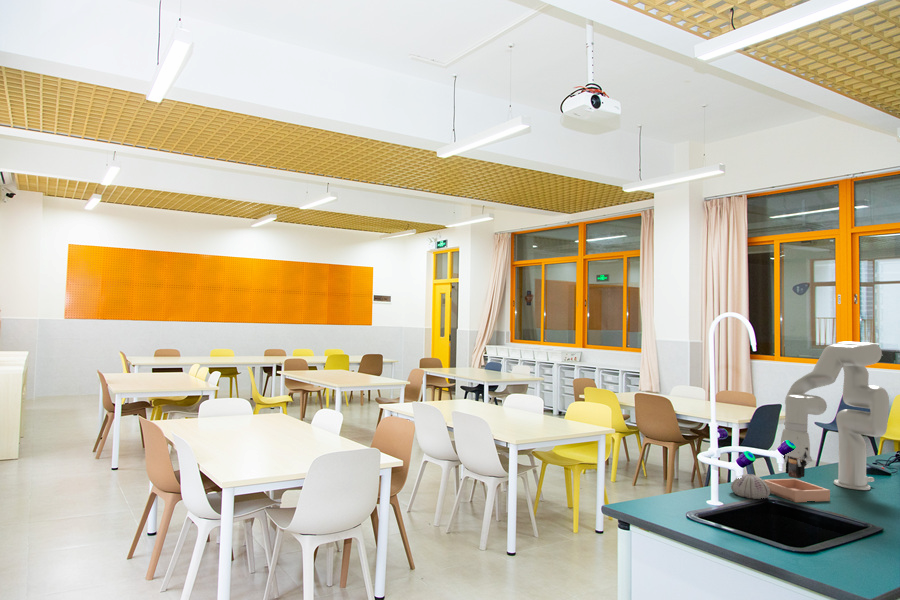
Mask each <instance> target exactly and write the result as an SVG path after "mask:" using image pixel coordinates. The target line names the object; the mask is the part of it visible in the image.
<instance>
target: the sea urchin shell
mask: <svg viewBox="0 0 900 600" xmlns="http://www.w3.org/2000/svg"><path fill="white" fill-rule="evenodd" d="M741 476H742V478H740V479H739V478H738V479H737V477H736V478H735V479H734V480H733V482H731V484H730V487H731V488H730V490H731V491H732V492H733V493H734V494H735V495H737V496H738V497H742V498H746V499H753V500H762V499H763V498H764V499H767V498H768V497H770V494H771V493H770V489H769V487H768V486H767V484H766V483H765V482H764V481H763V480H764V479H763V478H761V477H760V476H758V475H757V474H751V473H747V474H746V473H745V474H742V475H741ZM761 498H762V499H761Z"/></svg>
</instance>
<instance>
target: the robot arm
mask: <svg viewBox="0 0 900 600" xmlns="http://www.w3.org/2000/svg"><path fill="white" fill-rule="evenodd" d="M882 354H883V352H882V348H881V347H880V346H879V345H878V344H877V343H874V342H864V341H863V342H860V341H838V342H836V343H834V344H829V345H827V346H826V347H824V349H823V350H822V353H821V354H820V356H819V358H818V360H817V361H816V364H815V366H814V368H813V369H812V370H811V371H810V372H808V373H807V374H805V375H803V376H801V377H800V378H799V379H796V381H794V382H793V384H792V385H791V386H790V388H789V390H788V392H787V394H786V396H785V400H784V405H785V412H784V413H785V414H784V415H785V416H784V417H785V418H784V423H783V425H784V428H783V430H782V433H781V439H780V445H781V444H782V442H783V441H785V440H789V441H790V442H791V443H793V444H794V445H795V446H796V448H795V449H794V450H793V451H791V452H789V453H787V454H785V455H784V457H783V456H782V458H783V461H784V463H785V474H788V464H789V462H788V459H789V457H793V458H797V462H798V466H797V471H796V476H797V477H801V478H804V477H805V474H806V473H805V469H806V468H805V467H807V465H808V464H809V463H811V462H813V458H812V456H811V443H810V442H811V441H810V436H809V432H808V426H809V425H808V422H809V421H808V419H809V418H808V417H809V416H808V415H813V416H819V415H823V414H824V413H825V412H826V410H827V406H828V405H827V402H826V400H825V399H824V398H823V397H821V396H817V395H812V394H807V392H809V391H811V390H813V389H817V388H818V389H819V388H822V387H826V386H829V385H832V384H834V383H835V382H836V380H837V378H838V376H839V374H840V373H841V371H842V369H843V385H842V387H843V388H842V401H843V403H844V404H845V405H847V406H850V407H855V408H863V409H868V410H869V411H864V410H857V409H849V408H847V409H841V410H840V411H838V412H837V414H836V417H835V418H836V419H835V421H836V426H837V430H838V431H837V433H838V475H837V476H838V477H837V478H838V479H834V480H833V484H834V485H836V486H838V487H842V488H845V489H850V490H855V491H856V490H858V491H869V490H871V485H870V484H868V483H871V482H875V478H874V477H872V476H867V444H866V441H865V439H864V437H863V435H864V436H869V437H874V438H881V437H883V436H885V434H886V433H887V429H888V423H889V422H888V421H889V408H890V405H889V404H890V398H889V396H890V395H889V393H888V392H887V390H886V389H885V388H883V387H882V386H878V385H870V384H869V374H870V373H869V370H868V368H866V367H868V366H871V365H874V364H877V363H878V362H879V361H880V360H881V358H882ZM801 460H802V462H801Z"/></svg>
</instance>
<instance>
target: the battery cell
mask: <svg viewBox="0 0 900 600" xmlns="http://www.w3.org/2000/svg"><path fill="white" fill-rule="evenodd" d="M788 462H789V464H788V473H787V476H788V477H789V478H792V479H802V477H797V476H796V471H797V466H798V462H797V458H793V457H789V459H788ZM801 462H802V460H801Z"/></svg>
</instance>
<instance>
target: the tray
mask: <svg viewBox="0 0 900 600" xmlns="http://www.w3.org/2000/svg"><path fill="white" fill-rule="evenodd" d="M762 480H763V481H764V482H765V483H766V484H767V486H768V487H769V489H770V494H771V495H775V496H777V497H780V498H782V499H786V500H788V501H790V502H792V503H808V502H807V501H815V502H831V489H829V488H828V489H827V488H824V487H823V486H819V485H816V484H813V483H810V482H806V481H803V480H801V479H799V478H775V479H773V478H771V479H762Z"/></svg>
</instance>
